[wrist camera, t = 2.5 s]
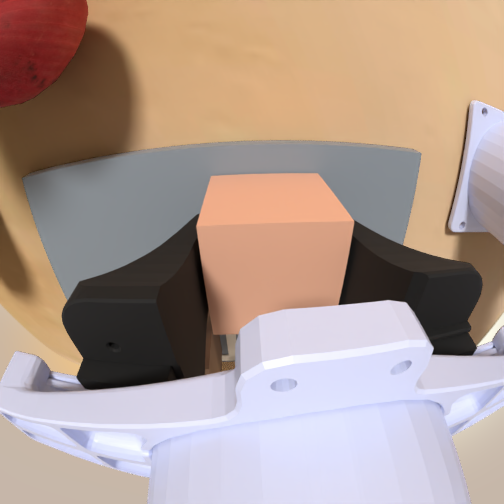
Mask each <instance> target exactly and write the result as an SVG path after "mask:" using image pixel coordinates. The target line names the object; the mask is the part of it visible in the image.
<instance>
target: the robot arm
mask: <svg viewBox="0 0 504 504" xmlns="http://www.w3.org/2000/svg"><path fill="white" fill-rule="evenodd" d="M482 109H483V114H482ZM199 215H200V214H197V215H196V216H194V217H193V218H192V219H191V220H190V221H189V222H188V223H187V224H186V225H184V226H183V227H182V228H181V229H180V230H179V231H178V232H177V233H175V234H174V235H173V236H172V237H170V238H169V239H168V240H167V241H165V242H164V243H163V244H161V245H160V246H159V247H157V248H156V249H154V250H152V251H151V252H149V253H148V254H146V255H144V256H142V257H141V258H139V259H137V260H135V261H133V262H131V263H129V264H127V265H125V266H123V267H120V268H118V269H115V270H113V271H110V272H108V273H105V274H102V275H99V276H96V277H92V278H89V279H86V280H82V281H79V283H78V284H77V286H76V287H75V289H74V291H73V292H72V294H71V296H70V297H69V299H68V301H67V303H66V304H65V306H64V308H63V311H62V321H63V325H64V327H65V329H66V331H67V333H68V335H69V336H70V338H71V340H72V341H73V343H74V344H75V346H76V348H77V349H78V351H79V352H80V354H81V355H82V357H83V361H82V363H81V366H80V369H79V372H78V374H77V376H73V375H68V374H63V373H58V372H53V371H50V369H49V367H48V366H47V364H46V363H45V362H44V361H43V360H42V359H41V358H40V357H38V356H36V355H33V354H29V353H24V352H20V351H15V353H14V355H13V357H12V359H11V361H10V363H9V365H8V367H7V369H6V371H5V373H4V375H3V378H2V380H1V382H0V414H1V415H3V416H4V417H5V418H6V419H7V420H8V421H10V422H11V423H12V424H13V425H14V426H16V427H17V428H18V429H20V430H21V431H22V432H23V433H25V434H26V435H27V436H29V437H30V438H31V439H33V440H35V441H38V442H40V443H43V444H45V445H47V446H50V447H53V448H55V449H57V450H60V451H63V452H65V453H68V454H71V455H73V456H76V457H79V458H82V459H84V460H87V461H90V462H93V463H96V464H99V465H102V466H106V467H109V468H113V469H116V470H119V471H123V472H127V473H131V474H135V475H139V476H143V477H148V478H150V479H149V489H148V500H147V504H471V500H470V496H469V492H468V488H467V484H466V481H465V477H464V474H463V470H462V467H461V464H460V460H459V457H458V454H457V451H456V448H455V445H454V442H453V439H452V436H453V435H455V434H457V433H459V432H461V431H463V430H465V429H466V428H468V427H470V426H472V425H473V424H475V423H476V422H478V421H480V420H482V419H483V418H485V417H487V416H488V415H490V414H492V413H493V412H495V411H496V410H498V409H500V408H501V407H503V406H504V326H502V327H501V328H500V329H499V331H498V332H497V333H496V335H495V336H494V338H493V340H492V341H491V342H488V343H486V344H483V345H480V346H477V347H476V345H475V343H474V342H473V340H472V338H471V337H470V335H469V333H468V332H470V330H471V326H470V324H469V323H468V321H467V320H468V318H469V316H470V315H471V313H472V311H473V309H474V307H475V305H476V303H477V302H478V299H479V297H480V294H481V290H482V285H483V284H482V278H481V276H480V274H479V273H478V272H477V270H476V269H475V268H474V267H473V266H472V265H471V264H470V263H466V262H461V261H455V260H449V259H445V258H441V257H437V256H433V255H429V254H426V253H423V252H420V251H417V250H414V249H411V248H409V247H406V246H403V245H401V244H399V243H397V242H394V241H392V240H390V239H388V238H386V237H384V236H382V235H380V234H378V233H376V232H374V231H372V230H371V229H369V228H367V227H365V226H364V225H362V224H360V223H359V222H357V221H355V220H354V219H353V220H354V227H353V233H352V239H351V245H350V250H349V256H348V261H347V266H346V271H345V276H344V281H343V286H342V290H341V295H340V300H339V304H338V305H336V306H324V307H311V308H296V309H283V310H279V311H275V312H271V313H267V314H262V315H259V316H257V317H256V318H255V319H253V320H252V321H250V322H249V323H248V324H246V325H245V326H244V327H242V328H241V329H240V331H239V334H238V338H237V341H236V344H235V369H231V370H227V371H222V372H217V373H212V374H207V375H205V351H206V329H207V318H208V311H209V307H208V301H207V295H206V289H205V283H204V276H203V270H202V263H201V256H200V249H199V242H198V235H197V227H196V226H197V222H198V219H199ZM461 222H462V223H461ZM448 228H449V229H450V230H451V231H452V232H490V233H491V234H492V235H493V236H494V237H495V238H496V239H498V240H499V241H500V242H501V243H502V244H503V245H504V112H503V111H501V110H499V109H497V108H494V107H492V106H490V105H487V104H485V103H482V102H480V101H476V100H473V101H472V102H471V103H470V108H469V119H468V128H467V136H466V143H465V150H464V156H463V161H462V167H461V172H460V177H459V182H458V186H457V191H456V195H455V199H454V203H453V207H452V211H451V215H450V218H449V222H448Z"/></svg>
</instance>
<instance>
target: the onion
mask: <svg viewBox="0 0 504 504" xmlns="http://www.w3.org/2000/svg"><path fill="white" fill-rule="evenodd" d="M87 16H88V5H87V1H86V0H0V108H2V107H6V106H11V105H16V104H21V103H24V102H26V101H28V100H30V99H32V98H34V97H36V96H37V95H38V94H40V93H41V92H42V91H43V90H45V89H46V88H47V87H49V86H50V85H51V84H53V83H54V82H56V80H57V79H58V78H59V76H60V75H61V73H62V72H63V71H64V69H65V68H66V66H67V65H68V63H69V62H70V61H71V59H72V58H73V56H74V55H75V53H76V51H77V49H78V46H79V44H80V42H81V40H82V38H83V35H84V33H85V27H86V21H87Z"/></svg>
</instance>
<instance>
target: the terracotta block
mask: <svg viewBox="0 0 504 504" xmlns="http://www.w3.org/2000/svg"><path fill="white" fill-rule="evenodd" d="M196 227H197V235H198V242H199V249H200V256H201V263H202V270H203V276H204V283H205V289H206V295H207V301H208V307H209V313H210V319H211V324H212V330H213V335H224V334H239V331H240V329H241V328H242V327H244V326H245V325H246V324H248V323H249V322H250V321H252V320H253V319H255V318H256V317H257V316H259V315H262V314H267V313H271V312H275V311H279V310H283V309H296V308H311V307H324V306H336V305H338V304H339V300H340V295H341V290H342V286H343V281H344V276H345V271H346V266H347V261H348V256H349V250H350V245H351V239H352V233H353V227H354V220H353V219H352V217H351V216H350V215H349V213H348V212H347V210H346V209H345V208H344V206H343V205H342V204H341V202H340V201H339V200H338V198H337V197H336V196H335V194H334V193H333V192H332V190H331V189H330V188H329V187H328V185H327V184H326V183H325V181H324V180H323V179H322V178H321V176H320V175H319V174H318V173H269V174H238V175H218V176H211V178H210V181H209V185H208V188H207V191H206V195H205V198H204V201H203V205H202V208H201V212H200V215H199V219H198V222H197V226H196Z"/></svg>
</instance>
